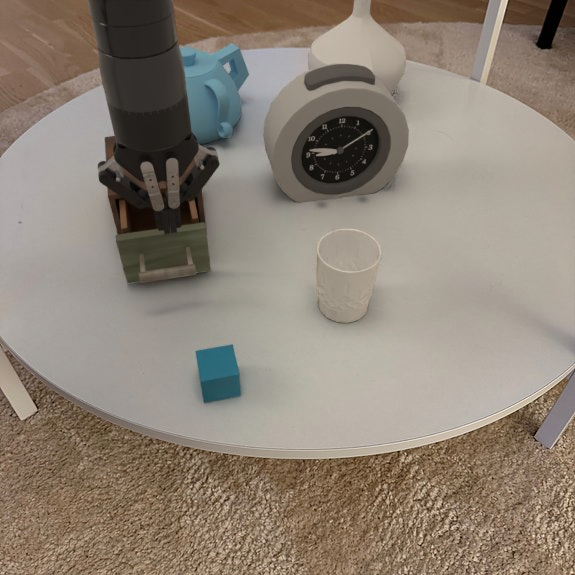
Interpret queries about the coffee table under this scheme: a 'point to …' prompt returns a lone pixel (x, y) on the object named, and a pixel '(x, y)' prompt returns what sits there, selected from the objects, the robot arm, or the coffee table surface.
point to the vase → (361, 47)
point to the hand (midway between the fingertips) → (170, 229)
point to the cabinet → (115, 197)
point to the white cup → (346, 273)
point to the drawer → (161, 244)
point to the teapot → (213, 91)
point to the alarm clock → (334, 134)
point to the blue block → (218, 373)
